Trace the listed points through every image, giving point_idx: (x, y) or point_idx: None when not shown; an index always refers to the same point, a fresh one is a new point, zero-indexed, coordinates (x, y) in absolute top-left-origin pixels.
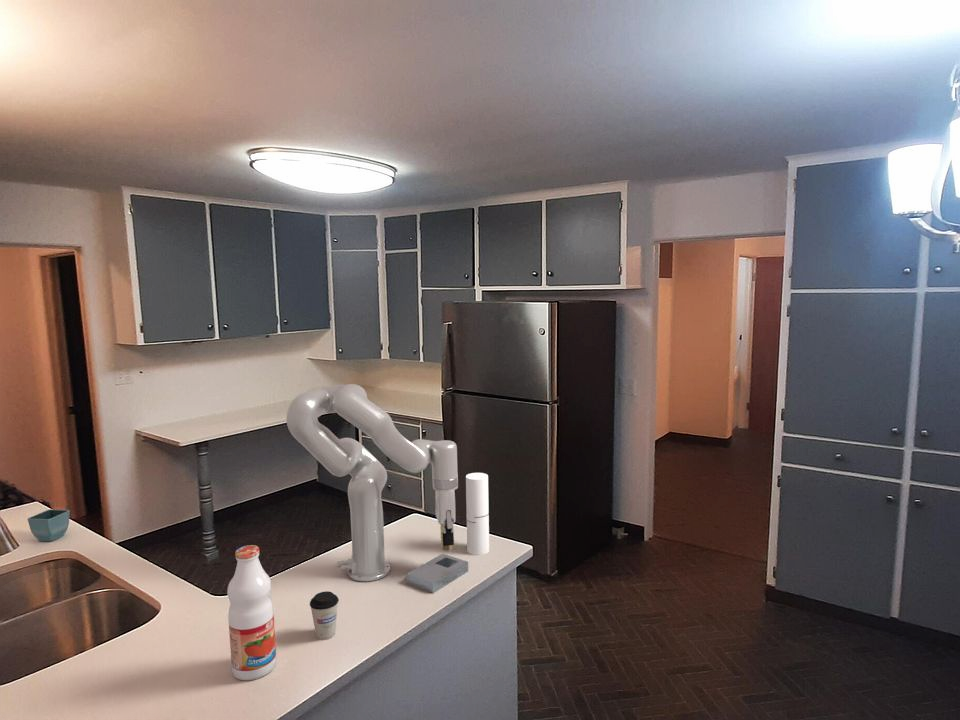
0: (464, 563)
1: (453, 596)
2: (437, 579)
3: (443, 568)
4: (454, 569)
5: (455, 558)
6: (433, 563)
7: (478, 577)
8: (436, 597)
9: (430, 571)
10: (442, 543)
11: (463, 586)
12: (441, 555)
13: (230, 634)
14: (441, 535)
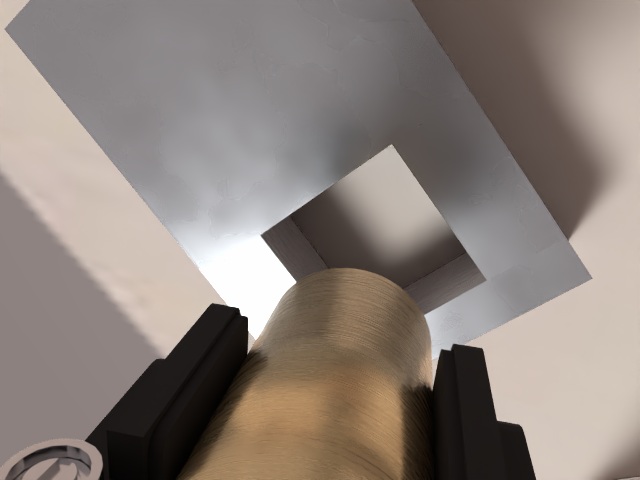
0: None
1: (11, 166)
2: (64, 86)
3: (258, 194)
4: (215, 277)
5: None
6: (395, 127)
7: None
8: (9, 42)
9: (232, 55)
10: (294, 313)
11: (130, 269)
12: (549, 253)
13: None
14: (286, 380)
